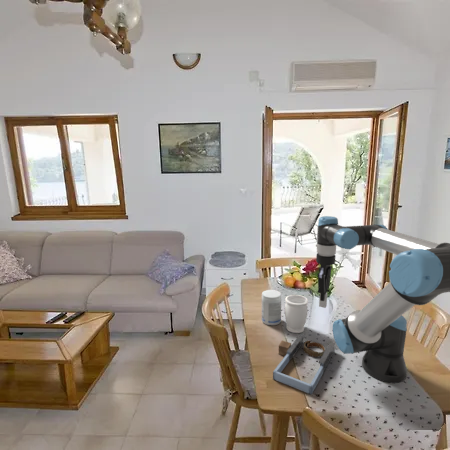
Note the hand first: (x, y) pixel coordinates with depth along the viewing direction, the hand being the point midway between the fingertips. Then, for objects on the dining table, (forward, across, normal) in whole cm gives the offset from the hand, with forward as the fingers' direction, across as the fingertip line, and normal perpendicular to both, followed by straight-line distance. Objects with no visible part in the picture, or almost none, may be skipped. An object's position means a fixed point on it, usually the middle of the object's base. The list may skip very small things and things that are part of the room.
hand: (322, 306), depth 136 cm
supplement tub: (+17, -4, -26) cm, 31 cm away
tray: (+16, +28, 0) cm, 32 cm away
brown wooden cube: (+17, +17, -10) cm, 25 cm away
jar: (+17, -4, -13) cm, 21 cm away
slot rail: (+16, +13, 0) cm, 21 cm away
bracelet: (+17, +9, 0) cm, 19 cm away
